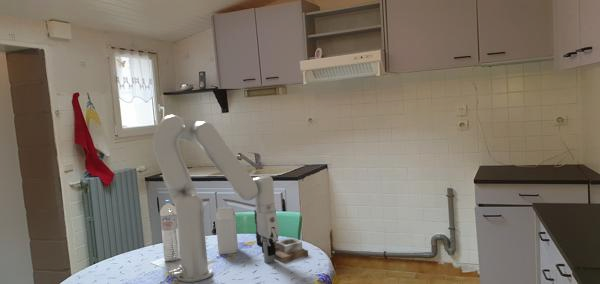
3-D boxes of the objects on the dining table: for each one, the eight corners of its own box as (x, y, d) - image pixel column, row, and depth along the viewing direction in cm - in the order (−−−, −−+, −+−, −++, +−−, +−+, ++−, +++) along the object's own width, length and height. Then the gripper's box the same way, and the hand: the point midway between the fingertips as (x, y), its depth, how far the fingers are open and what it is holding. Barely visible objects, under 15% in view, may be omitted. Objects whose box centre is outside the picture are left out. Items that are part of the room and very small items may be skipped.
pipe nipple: (267, 264, 170) (265, 239, 169) (261, 261, 174) (259, 236, 173) (277, 261, 172) (275, 236, 172) (271, 258, 176) (269, 234, 175)
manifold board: (282, 262, 170) (281, 250, 170) (263, 252, 184) (262, 241, 184) (308, 255, 177) (307, 243, 176) (287, 246, 190) (286, 235, 190)
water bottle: (160, 261, 182) (155, 202, 180) (172, 255, 188) (167, 198, 186) (173, 263, 179) (167, 202, 177) (184, 257, 185) (179, 198, 183)
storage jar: (253, 242, 200) (250, 209, 199) (273, 238, 204) (271, 206, 203) (261, 247, 191) (258, 214, 190) (281, 243, 195) (279, 210, 194)
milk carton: (235, 253, 186) (231, 209, 184) (218, 254, 186) (214, 210, 185) (238, 247, 193) (234, 205, 192) (222, 248, 193) (218, 206, 192)
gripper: (284, 209, 166) (288, 256, 168) (263, 203, 180) (267, 246, 182) (267, 213, 162) (270, 261, 164) (247, 206, 176) (250, 250, 178)
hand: (268, 253), depth 173 cm, fingers closed on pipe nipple, 4 cm apart
